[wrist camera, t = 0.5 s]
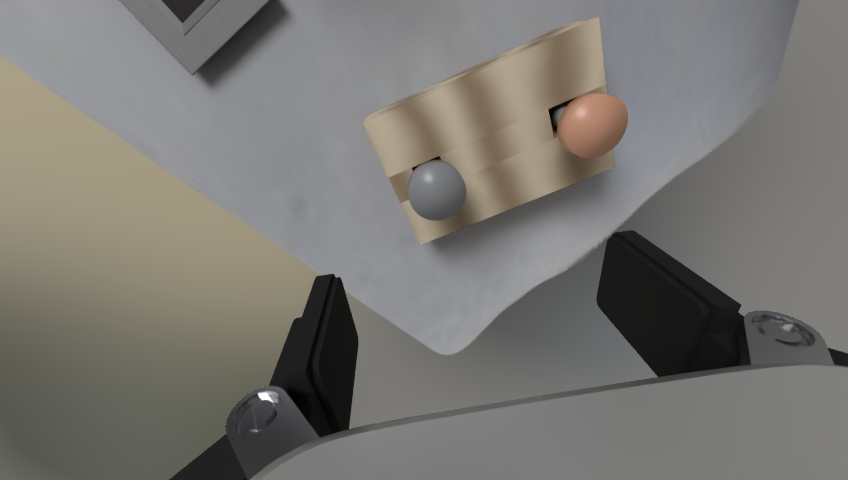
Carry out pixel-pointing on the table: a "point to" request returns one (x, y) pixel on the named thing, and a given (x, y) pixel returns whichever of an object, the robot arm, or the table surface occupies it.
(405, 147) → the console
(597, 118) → the terracotta button
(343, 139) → the table surface
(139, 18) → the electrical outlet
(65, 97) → the table surface
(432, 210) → the grey button
